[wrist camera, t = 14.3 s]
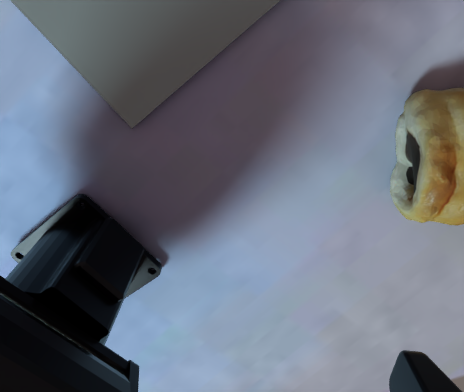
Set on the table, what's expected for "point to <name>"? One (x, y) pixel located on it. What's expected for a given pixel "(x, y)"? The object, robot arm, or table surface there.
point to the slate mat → (140, 42)
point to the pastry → (430, 157)
